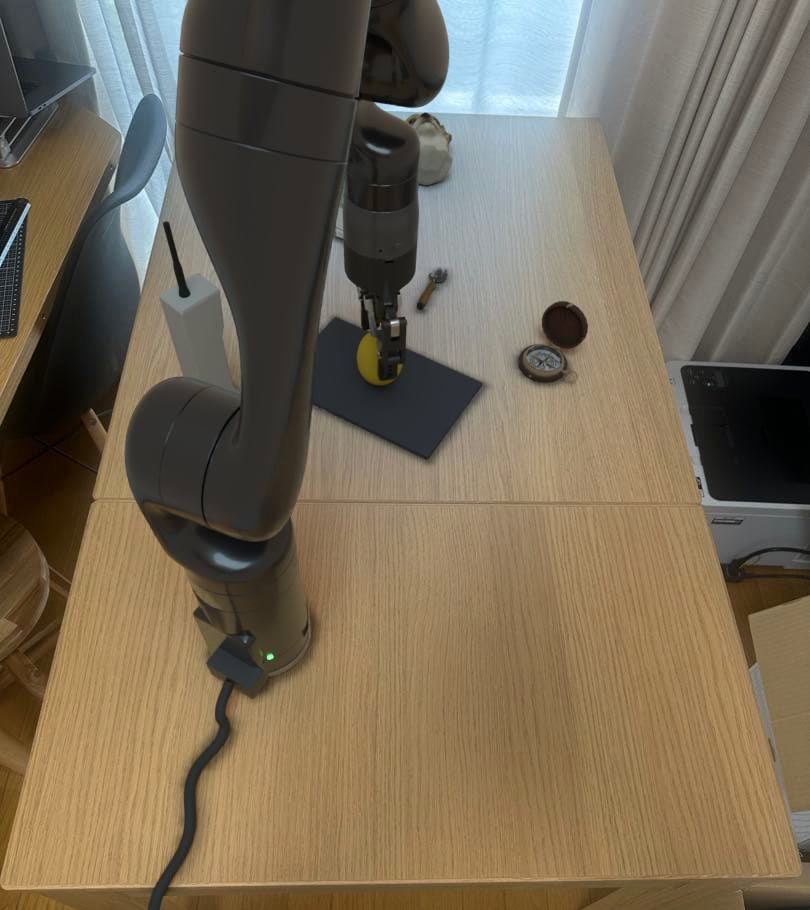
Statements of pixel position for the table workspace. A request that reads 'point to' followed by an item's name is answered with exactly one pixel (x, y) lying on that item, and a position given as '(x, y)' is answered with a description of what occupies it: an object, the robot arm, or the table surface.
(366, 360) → the lemon
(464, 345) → the table surface
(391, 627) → the table surface
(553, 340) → the compass
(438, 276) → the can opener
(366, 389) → the mat
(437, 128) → the ceramic sculpture
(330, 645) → the table surface
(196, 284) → the vintage mobile phone
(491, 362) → the table surface
